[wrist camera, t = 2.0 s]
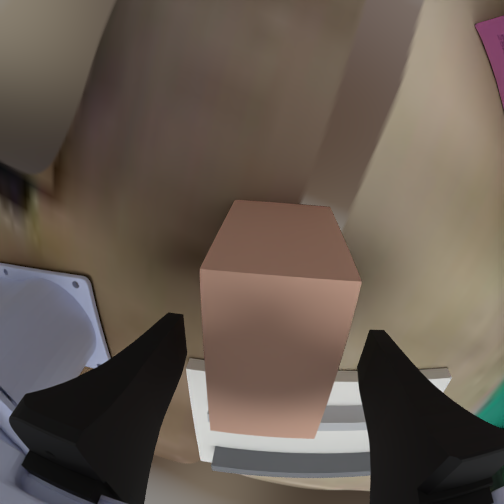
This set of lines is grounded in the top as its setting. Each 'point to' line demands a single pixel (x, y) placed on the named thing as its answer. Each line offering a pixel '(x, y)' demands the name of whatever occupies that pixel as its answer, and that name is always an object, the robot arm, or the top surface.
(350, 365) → the top surface
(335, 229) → the carton
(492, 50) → the gum box
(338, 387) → the white tray with rails
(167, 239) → the top surface
